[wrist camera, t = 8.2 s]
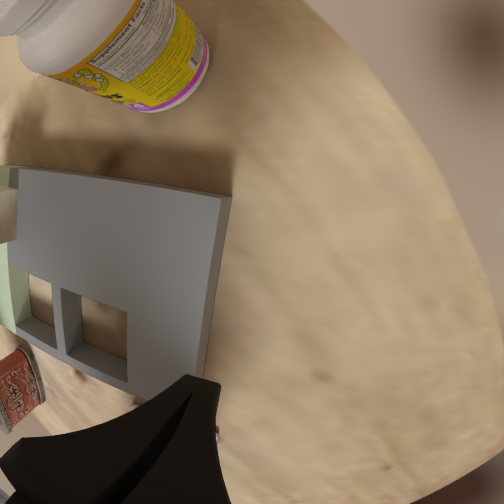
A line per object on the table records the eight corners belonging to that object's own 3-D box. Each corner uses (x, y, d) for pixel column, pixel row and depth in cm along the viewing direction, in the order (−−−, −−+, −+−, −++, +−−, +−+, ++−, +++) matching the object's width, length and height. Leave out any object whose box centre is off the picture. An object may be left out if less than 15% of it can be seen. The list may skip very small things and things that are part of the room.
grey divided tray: (200, 395, 22) (183, 429, 18) (10, 311, 24) (-15, 325, 20) (232, 196, 18) (213, 200, 14) (8, 164, 20) (-24, 166, 17)
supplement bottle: (109, 80, 18) (-36, 23, 5) (175, 15, 16) (61, -90, 3) (157, 136, 17) (-28, 84, 5) (235, 62, 16) (116, -87, 3)
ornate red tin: (16, 340, 25) (-45, 379, 15) (35, 351, 24) (-29, 396, 15) (31, 394, 27) (-18, 436, 17) (49, 405, 26) (0, 452, 17)
